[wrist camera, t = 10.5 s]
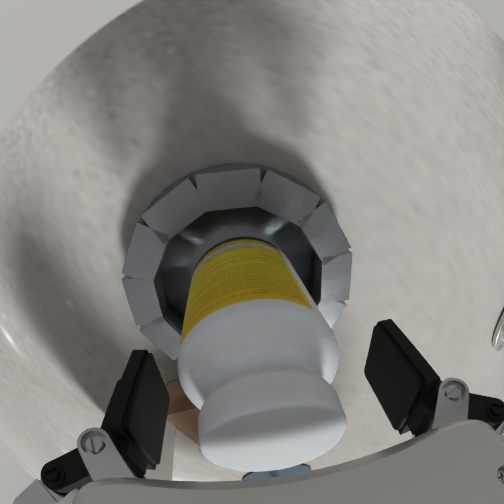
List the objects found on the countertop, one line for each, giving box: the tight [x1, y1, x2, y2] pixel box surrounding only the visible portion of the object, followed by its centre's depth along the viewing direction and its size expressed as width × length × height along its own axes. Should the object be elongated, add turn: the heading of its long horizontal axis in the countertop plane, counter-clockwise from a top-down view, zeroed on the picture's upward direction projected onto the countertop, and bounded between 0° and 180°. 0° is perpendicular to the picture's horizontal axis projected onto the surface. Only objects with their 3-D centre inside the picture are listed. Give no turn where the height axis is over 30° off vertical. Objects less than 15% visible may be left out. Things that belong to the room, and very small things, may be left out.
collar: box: [122, 164, 352, 361], centre depth 17 cm, size 15×15×2 cm
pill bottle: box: [177, 236, 347, 472], centre depth 12 cm, size 6×6×12 cm
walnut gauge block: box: [167, 379, 200, 443], centre depth 20 cm, size 5×5×4 cm
